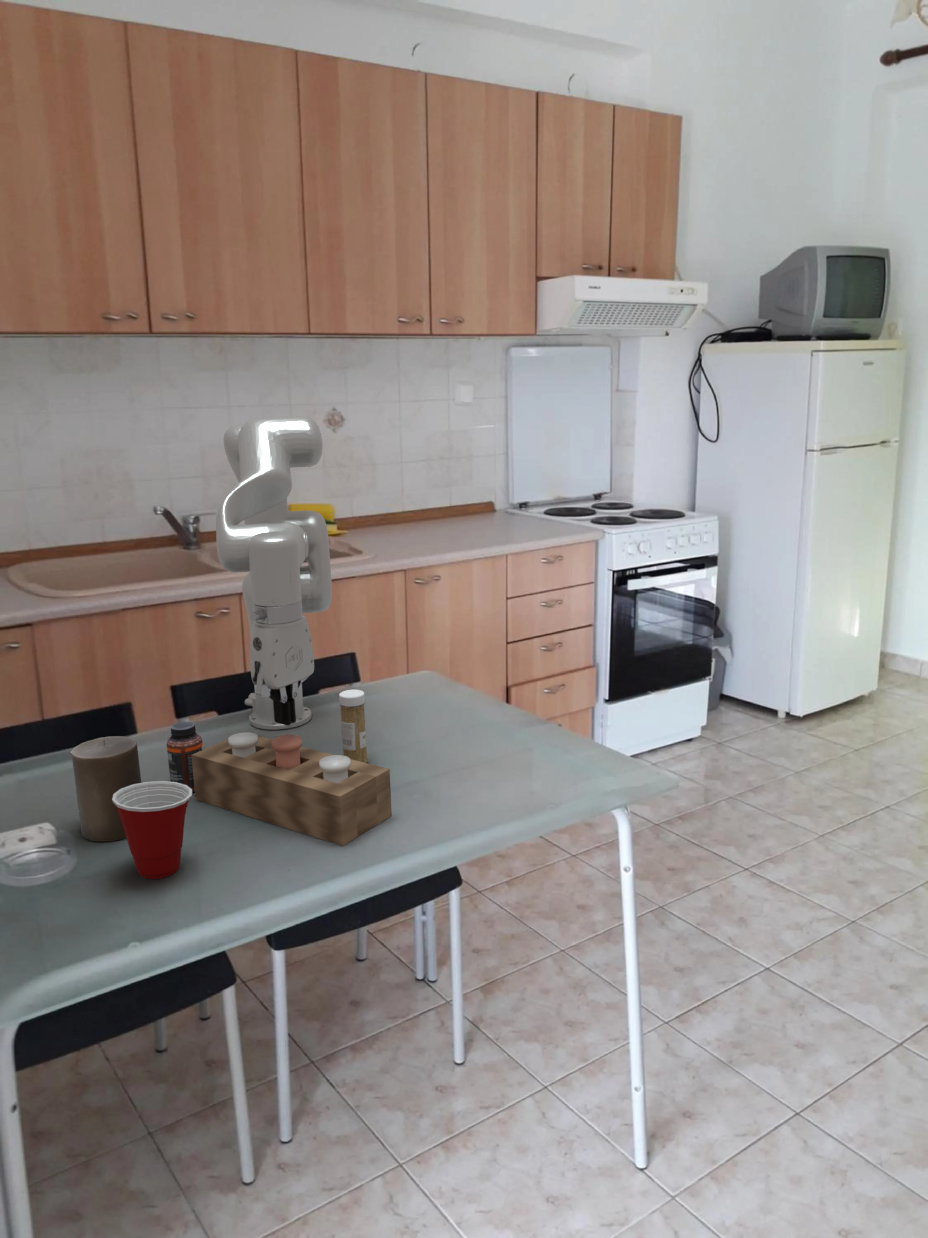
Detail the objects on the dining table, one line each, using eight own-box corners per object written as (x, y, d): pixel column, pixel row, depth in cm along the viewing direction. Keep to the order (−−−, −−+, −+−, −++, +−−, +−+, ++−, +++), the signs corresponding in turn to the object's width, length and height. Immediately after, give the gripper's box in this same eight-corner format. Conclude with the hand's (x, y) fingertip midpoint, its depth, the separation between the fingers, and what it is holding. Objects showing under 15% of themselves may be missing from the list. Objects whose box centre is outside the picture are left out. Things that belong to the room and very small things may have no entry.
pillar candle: (152, 832, 152) (142, 741, 149) (86, 848, 147) (74, 754, 144) (139, 810, 160) (129, 723, 157) (76, 824, 156) (65, 735, 152)
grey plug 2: (316, 822, 154) (312, 763, 151) (336, 811, 158) (333, 753, 155) (339, 829, 151) (336, 769, 149) (359, 817, 155) (356, 758, 153)
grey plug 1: (226, 795, 165) (221, 739, 162) (247, 785, 168) (243, 730, 166) (247, 801, 162) (242, 744, 160) (267, 791, 166) (263, 735, 163)
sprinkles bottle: (372, 764, 177) (369, 693, 174) (349, 770, 175) (346, 698, 171) (360, 756, 181) (357, 686, 177) (338, 762, 178) (334, 691, 175)
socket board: (195, 799, 164) (191, 754, 162) (247, 775, 173) (244, 732, 171) (342, 846, 146) (340, 796, 145) (391, 815, 156) (389, 769, 154)
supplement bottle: (213, 782, 171) (207, 720, 168) (195, 795, 165) (189, 732, 162) (182, 778, 172) (177, 718, 170) (164, 792, 167) (157, 730, 164)
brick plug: (269, 800, 159) (265, 742, 156) (289, 789, 163) (286, 732, 160) (291, 806, 156) (287, 747, 154) (311, 795, 160) (308, 738, 158)
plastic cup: (214, 866, 141) (207, 789, 138) (147, 896, 133) (138, 815, 130) (172, 844, 148) (165, 770, 145) (106, 871, 140) (97, 794, 138)
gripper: (260, 627, 144) (269, 743, 149) (328, 604, 156) (333, 712, 161) (224, 620, 148) (234, 733, 153) (293, 598, 160) (299, 704, 165)
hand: (285, 722), depth 157 cm, fingers closed
